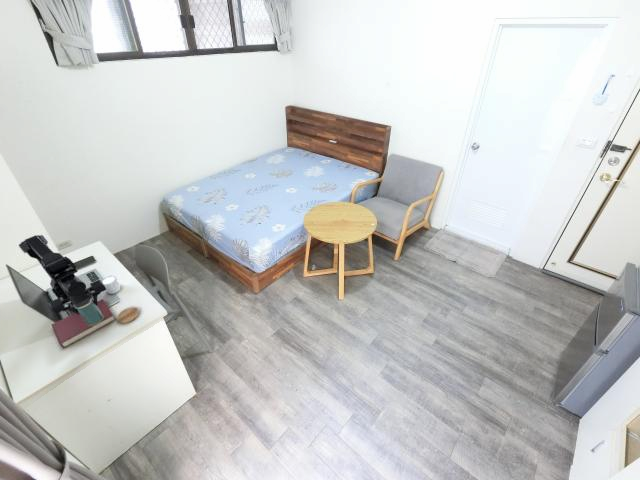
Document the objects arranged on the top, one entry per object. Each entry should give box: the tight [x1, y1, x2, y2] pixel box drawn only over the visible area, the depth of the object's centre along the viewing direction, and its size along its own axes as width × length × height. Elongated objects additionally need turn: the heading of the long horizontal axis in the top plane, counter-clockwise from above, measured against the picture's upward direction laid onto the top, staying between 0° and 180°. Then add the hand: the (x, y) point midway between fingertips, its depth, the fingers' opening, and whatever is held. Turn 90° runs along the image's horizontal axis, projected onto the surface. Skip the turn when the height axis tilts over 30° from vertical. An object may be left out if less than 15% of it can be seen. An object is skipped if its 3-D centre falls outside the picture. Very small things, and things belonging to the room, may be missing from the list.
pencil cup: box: [73, 298, 104, 326], centre depth 132 cm, size 13×7×13 cm
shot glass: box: [101, 275, 121, 295], centre depth 155 cm, size 7×7×7 cm
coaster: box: [117, 307, 140, 324], centre depth 144 cm, size 9×9×1 cm
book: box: [51, 298, 117, 349], centre depth 139 cm, size 15×21×3 cm
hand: (87, 309), depth 131 cm, fingers closed on pencil cup, 6 cm apart
